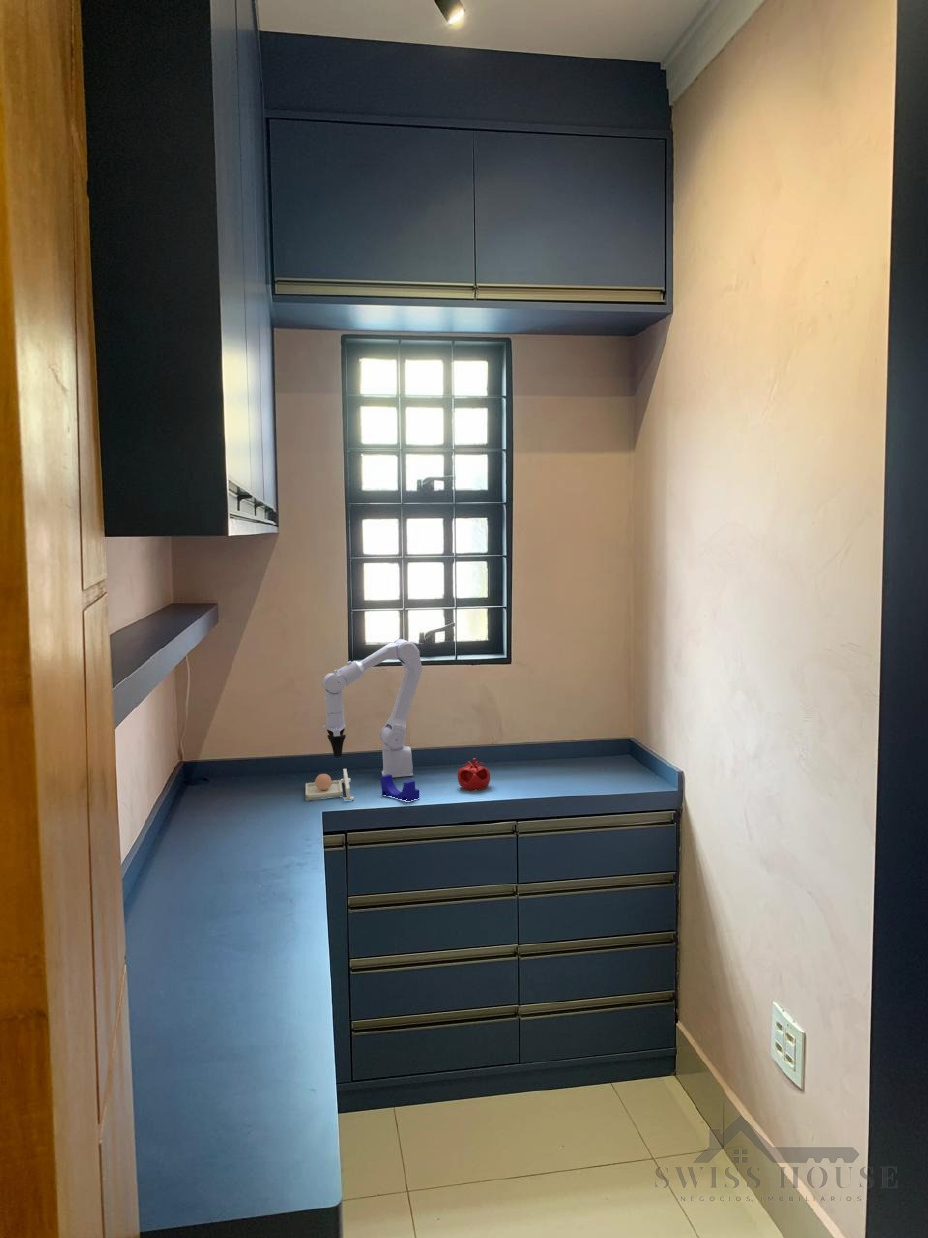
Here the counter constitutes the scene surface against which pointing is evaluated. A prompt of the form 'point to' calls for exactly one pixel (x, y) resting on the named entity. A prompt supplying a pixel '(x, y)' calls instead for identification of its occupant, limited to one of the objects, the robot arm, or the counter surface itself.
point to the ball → (323, 781)
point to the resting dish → (323, 791)
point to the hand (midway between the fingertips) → (337, 753)
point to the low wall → (346, 785)
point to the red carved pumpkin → (473, 776)
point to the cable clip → (391, 790)
